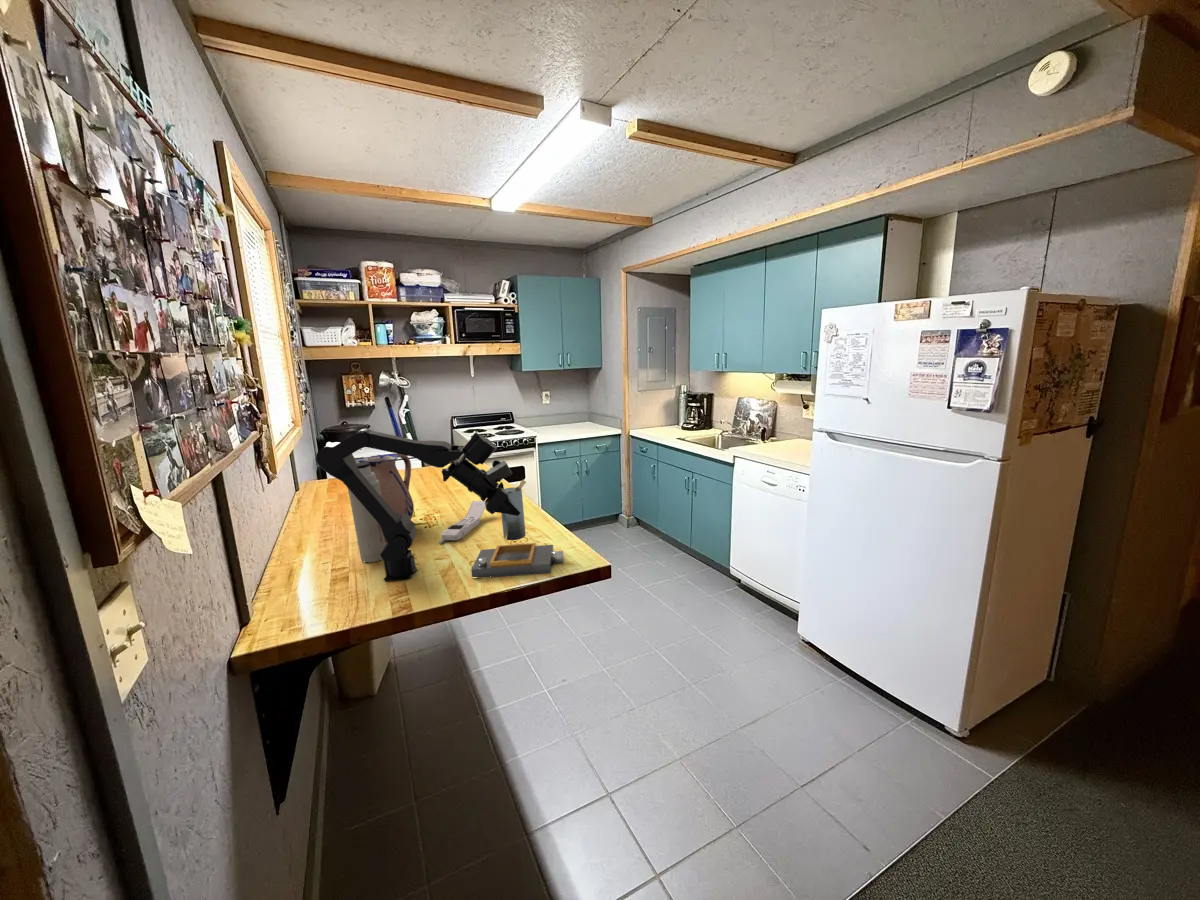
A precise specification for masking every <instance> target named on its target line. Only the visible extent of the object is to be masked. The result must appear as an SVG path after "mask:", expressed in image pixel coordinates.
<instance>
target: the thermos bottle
mask: <svg viewBox="0 0 1200 900" xmlns="http://www.w3.org/2000/svg"><path fill="white" fill-rule="evenodd" d="M356 464H357V467H358V469H359V471H360V472H361V473H362V475H363V476H364V477H365V478H366V479H367V481H368V482H369V483H370V484H371V485H372V486H373V488H374V489H375V490H376V491H377V492H378V494H379V495H380V496H381V491H380V485H379V481H378V480H376V476H375V473H373V472H371V469H370V467H369V466H370V464H369V463H368V462H362V463H359V462H356ZM347 491H348V498H349V501H350V507H351V513H352V519H353V524H354V528H355V529H354V530H355V533H356V534H355V535H356V539H357V544H358V551H359V557H360V561H361V560H362V561H365V562H374V561H378V562H380V561H379V560H382V557H381V555H380V554H381V552H382V551H383V549H384V547H385V546H386V544H387V541H386V540H385V538H384V536H383V533H382V530H381V527H380V525H379V523H378V522H377V521H376V520H375V519H374V518H373V516H372V515H371V514H370V513H369V512H368V511H367V510H366V508H365V507H364V506H363V505H362V504H361V503H360V501H359V500H358V499H357V498H356V497H355V496H354V495H353V493H352V492H351V491H350V490H349V489H348V488H347ZM362 561H361V562H362ZM382 561H383V560H382ZM374 563H375V562H374Z"/></svg>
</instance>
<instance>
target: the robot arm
mask: <svg viewBox="0 0 1200 900" xmlns="http://www.w3.org/2000/svg"><path fill="white" fill-rule="evenodd" d="M362 448H369V449H374V450H378V451H383V452H387V453H388V452H389V453H391V454H396V453H397V454H402V455H407V456H408V457H412V458H414V459H416V460H419V461H421V462H422V463H424V464H426V465H428V466H432V467H434V468H437V469H438V468H440V469H441V468H442V469H441V473H442V480H443V482H447V481H448V480H449V478H452V479H454V480H455V481H457V482H459V483H460V484H461V485H463V486H464V487H465V488H467V491H468V492H470V493H474V494H475V495H477V497H479V498H480V501H485V510H486V511H487V512H488V513H489V514H491V515H494V514H495V513H497V514H498V513H499V514H501V513H504V514H510V515H515V516H518V515H519V514H520V512H519V511H518V509H517V508H516V507H515V506H514V505H513V504H512V503H511V502H510V501H509V500H508V493H507V491H504V490H503V489H505V487H504V483H503V482H502V480H503V479H505V478H507V477H510V476H512V475H513V472H512V470H511V468H510V467H509V465H508V463H507V462H506V460H501V461H500V460H499V459H495V460H492V462H491V465H492V466H491V467H490V468H489V469H488V470H487V471H486V470H485V469H483V468H481V469H480V468H479V467H477V466H479V464H480V465H484V464H485V462H486V461H487V460H488V459H489V458H490V456H492V454H493V453H494V452H495V451H497V448H498V447H497V446H496V444H495V443H494V442H492V440H490V439H489V438H488V437H485V436H483V435H481V434H480V433H478V432H477V431H475V432H474V433H473V434H472V435H471V438H470V439H469V440H467V442H466V444H465V445H459V444H458V445H456V444H451V443H449V442H447V441H444V440H416V439H411V438H406V437H403V436H397V435H394V434H393V435H392V434H388V433H383V432H379V431H374V430H371V429H370V428H362V429H360V430H358V431H356V432H355V433H354V434H353V435H352V436H350V437H348V438H346V439H344V440H343V441H340V442H339V441H334V442H330V443H329V444H327V445H325V446H323V447H321V448H320V449H319V450H318V451H317V452H316V455H315V461H316V464H317V465H318V466H319V467H320V468H321V469H322V470H324V472H326V473H327V474H328V475H330V476H331V477H333V478H335V479H337V480H339V481H340V482H342V483H343V484H344V485H345V487H347V490H348V489H349V490H350V491H351V492H352V493H353V495H354V496H355V497H356V498H357V499H358V500H359V501H360V503H361V504H362V505H363V506H364V507H365V508H366V510H367V511H368V512H369V513H370V514H371V515H372V516H373V518H374V519H375V520H376V521H377V522H378V523H379V525H380V527H381V530H382V533H383V536H384V538H385V540H386V541H387V544H386V546H385V547H384V549H383V551H382V552H381V554H380V555H381V557H382V559H383V560H382V561H383V565H384V570H385V577H384V578H383V581H384V580H385V581H384V582H388V581H387V580H393V581H405V580H406V579H407V580H410V578H411V577H412V576H413V574H414V573H415V572H416V570H417V569H418V568H417V566H416V559H415V556H414V555H413V553H412V552H413V551H412V549H410V548H411V546H412V544H413V543H414V540H415V538H416V537H417V528H416V523H415V522H414V521H412V519H411V520H410V518H409V517H408V515H407V514H406V513H405V514H404V515H403V516H400V515H398V514H396V513H395V512H394V511H393V510H392V509H391V508H390V507H389V505H388V504H387V503H386V502H385V501H384V499H383V498H382V497H381V496H380V495H379V494H378V492H377V491H376V490H375V489H374V488H373V486H372V485H371V484H370V483H369V482H368V481H367V479H366V478H365V477H364V476H363V475H362V473H361V472H360V471H359V469H358V467H357V464H356V463H357V460H356V459H355V457H354V455H353V454H354V453H355V452H357V451H358V450H360V449H362ZM450 463H451V464H450ZM448 465H449V466H448ZM446 466H448V467H447V468H444V467H446ZM414 571H415V572H414ZM411 575H412V576H411Z"/></svg>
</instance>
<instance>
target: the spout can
mask: <svg viewBox="0 0 1200 900" xmlns="http://www.w3.org/2000/svg"><path fill="white" fill-rule="evenodd" d="M525 484H527V481H526V480H525V479H522V480H521V481H520V482H519V483H518V484H517V486H516V487H505V488H504V489H503V490H504V491H507V493H508V500H509V501H510V502H511V503H512V504H513V505H514V506H515V507H516V508H517V509H518V511H519V512H520V514H519V515H518V516H515V515H510V514H504V513H500V515H501V522H502V523H501V524H502V532H503V533H502V534H503V539H504V540H506V541H517V540H521V539H524V538H525V537H526V534H527V533H526V523H525V512H524V501H523V489H522V488H523V487H524V486H525Z"/></svg>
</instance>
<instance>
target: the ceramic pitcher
mask: <svg viewBox="0 0 1200 900" xmlns="http://www.w3.org/2000/svg"><path fill="white" fill-rule="evenodd" d="M398 458H400V459H402V461H403V462H404V478H402V476H401V474H400V472H399V470H398V468H397V466H396V461H397V460H398ZM357 461H358V463H362V462H368V463H369V464H370V466H369V467H370V469H371V472H373V473H375V476H376V480H378V481H379V485H380V491H381V497H382V498H383V499H384V501H385V502H386V503H387V504H388V505H389V507H390V508H391V509H392V510H393V511H394V512H395V513H396V514H398V515H400V516H403V515H404V514H405V513H406V514H407V515H408V517H409V518H410V520H411V521H412V518H413V515H414V510H415V508H414V501H413V498H412V496H411V493H410V491H409V490H410V481H411V475H412V463H411V460H410V458H409V456H407V455H402V454H397V453H387V454H386V453H385V454H377V455H372V456H366V457H362V458H359V459H358V460H357Z"/></svg>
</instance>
